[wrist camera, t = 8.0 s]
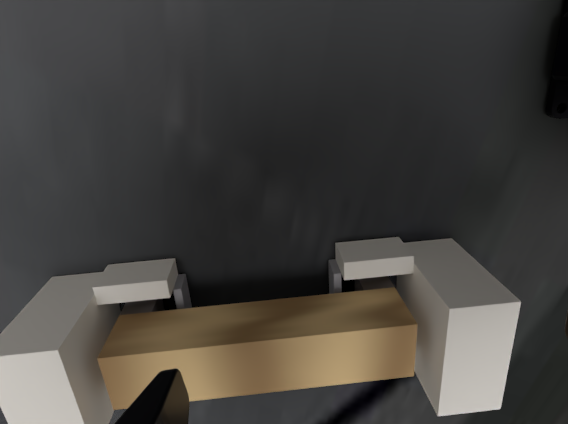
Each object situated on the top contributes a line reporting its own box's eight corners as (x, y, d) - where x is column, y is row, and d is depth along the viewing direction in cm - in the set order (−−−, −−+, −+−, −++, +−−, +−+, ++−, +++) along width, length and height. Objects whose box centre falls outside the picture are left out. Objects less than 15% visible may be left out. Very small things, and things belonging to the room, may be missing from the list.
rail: (382, 267, 22) (417, 324, 17) (381, 311, 23) (413, 376, 18) (130, 292, 21) (97, 358, 17) (142, 336, 22) (113, 410, 18)
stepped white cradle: (452, 231, 21) (522, 293, 16) (441, 331, 24) (499, 415, 18) (49, 270, 20) (-26, 350, 15) (83, 370, 23) (30, 470, 17)
